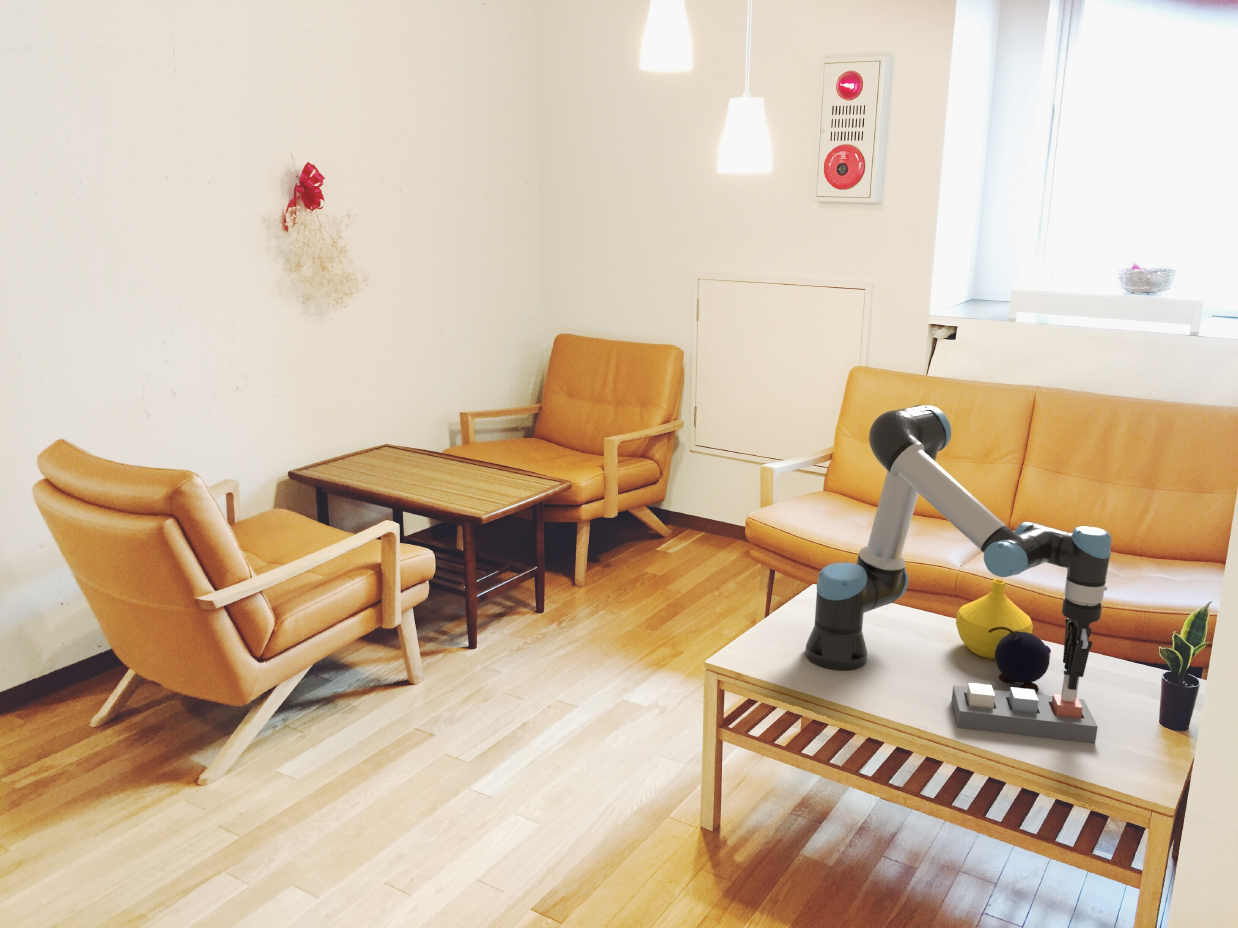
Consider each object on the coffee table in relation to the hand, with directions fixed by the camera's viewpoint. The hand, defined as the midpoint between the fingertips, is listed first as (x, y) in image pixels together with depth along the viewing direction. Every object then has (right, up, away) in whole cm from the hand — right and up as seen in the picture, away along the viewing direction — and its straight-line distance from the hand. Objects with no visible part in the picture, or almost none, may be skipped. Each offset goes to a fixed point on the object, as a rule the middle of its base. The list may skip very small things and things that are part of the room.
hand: (1068, 699), depth 214 cm
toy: (-3, -1, +20) cm, 21 cm away
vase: (-3, +3, +38) cm, 38 cm away
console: (-9, -6, +4) cm, 11 cm away
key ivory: (-18, -2, +5) cm, 18 cm away
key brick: (0, -4, +1) cm, 4 cm away
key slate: (-9, -3, +3) cm, 10 cm away
